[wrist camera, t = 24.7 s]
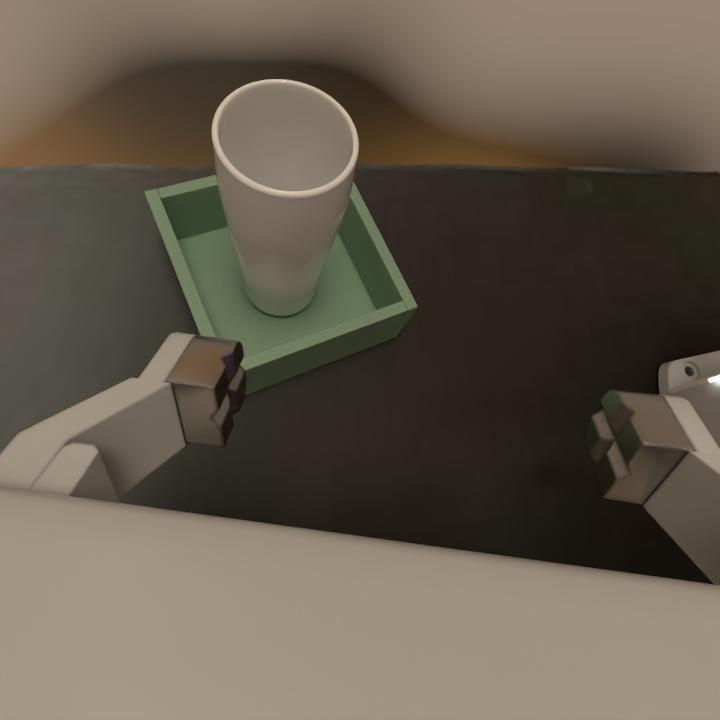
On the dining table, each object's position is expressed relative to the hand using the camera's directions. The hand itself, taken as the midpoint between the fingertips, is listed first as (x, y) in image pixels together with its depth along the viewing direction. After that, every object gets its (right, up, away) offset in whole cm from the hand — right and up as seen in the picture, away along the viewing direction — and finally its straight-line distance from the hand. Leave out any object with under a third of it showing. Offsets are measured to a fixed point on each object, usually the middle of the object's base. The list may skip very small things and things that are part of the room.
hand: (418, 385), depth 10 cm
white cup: (-7, +6, +25) cm, 26 cm away
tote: (-7, +6, +25) cm, 27 cm away
